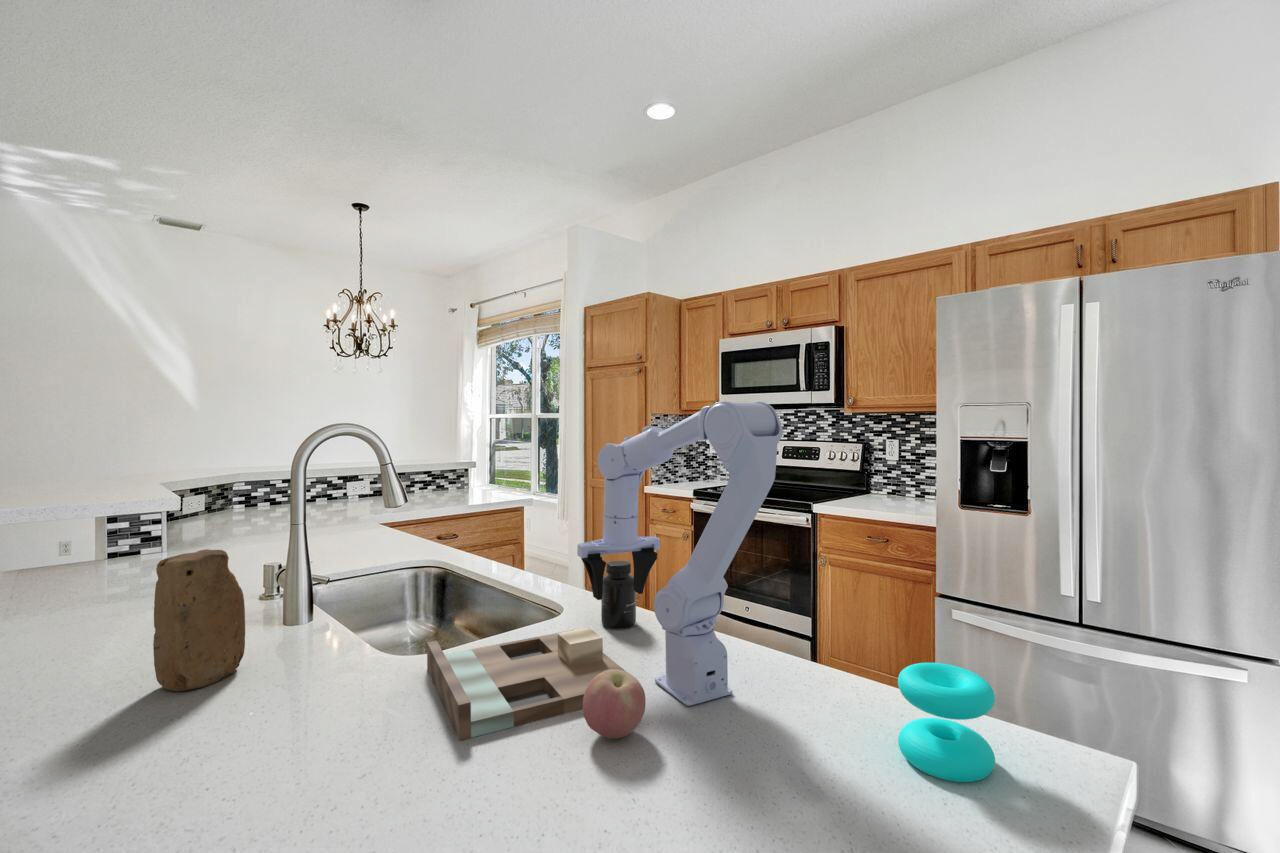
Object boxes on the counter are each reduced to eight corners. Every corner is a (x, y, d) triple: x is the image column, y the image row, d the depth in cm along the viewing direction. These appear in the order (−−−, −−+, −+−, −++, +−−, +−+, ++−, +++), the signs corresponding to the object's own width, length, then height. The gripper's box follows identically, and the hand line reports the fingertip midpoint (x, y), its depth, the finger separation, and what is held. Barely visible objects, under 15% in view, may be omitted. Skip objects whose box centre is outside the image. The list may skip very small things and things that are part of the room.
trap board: (638, 694, 87) (637, 663, 87) (459, 740, 75) (458, 705, 75) (574, 640, 108) (574, 616, 108) (427, 669, 96) (426, 642, 96)
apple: (589, 757, 71) (588, 690, 71) (578, 725, 78) (577, 664, 78) (652, 746, 73) (652, 681, 73) (636, 717, 80) (636, 657, 80)
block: (176, 698, 87) (173, 562, 87) (149, 688, 90) (146, 557, 90) (252, 670, 97) (250, 547, 97) (225, 662, 100) (223, 543, 100)
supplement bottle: (635, 630, 114) (635, 567, 114) (600, 630, 114) (599, 567, 114) (636, 618, 121) (636, 558, 120) (603, 618, 121) (602, 559, 121)
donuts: (1005, 675, 69) (978, 704, 62) (1006, 761, 69) (979, 800, 62) (916, 652, 76) (883, 676, 69) (917, 730, 76) (884, 761, 69)
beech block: (602, 659, 95) (602, 637, 95) (570, 666, 92) (570, 644, 92) (588, 648, 99) (588, 627, 99) (557, 654, 97) (557, 633, 97)
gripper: (647, 508, 107) (644, 582, 108) (571, 513, 100) (569, 593, 101) (667, 515, 101) (664, 594, 101) (587, 522, 94) (585, 606, 95)
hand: (618, 595), depth 101 cm, fingers open, 7 cm apart
